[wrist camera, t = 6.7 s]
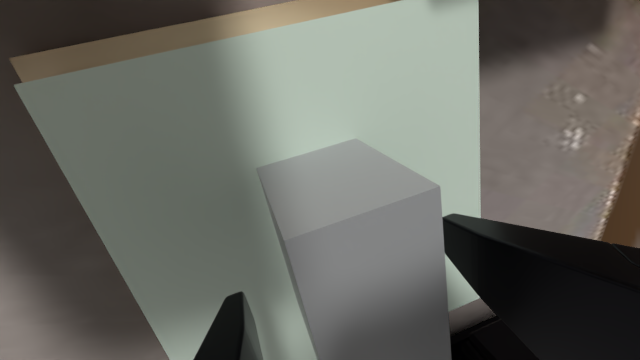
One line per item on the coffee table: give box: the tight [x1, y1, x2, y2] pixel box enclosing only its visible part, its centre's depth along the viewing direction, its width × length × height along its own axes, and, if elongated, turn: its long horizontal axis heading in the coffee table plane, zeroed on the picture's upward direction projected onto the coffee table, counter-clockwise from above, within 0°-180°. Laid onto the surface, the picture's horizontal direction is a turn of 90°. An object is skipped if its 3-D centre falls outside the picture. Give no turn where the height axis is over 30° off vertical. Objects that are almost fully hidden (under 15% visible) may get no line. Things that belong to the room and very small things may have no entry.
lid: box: [13, 0, 481, 360], centre depth 9 cm, size 12×12×6 cm
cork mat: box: [9, 0, 401, 83], centre depth 12 cm, size 13×13×1 cm
